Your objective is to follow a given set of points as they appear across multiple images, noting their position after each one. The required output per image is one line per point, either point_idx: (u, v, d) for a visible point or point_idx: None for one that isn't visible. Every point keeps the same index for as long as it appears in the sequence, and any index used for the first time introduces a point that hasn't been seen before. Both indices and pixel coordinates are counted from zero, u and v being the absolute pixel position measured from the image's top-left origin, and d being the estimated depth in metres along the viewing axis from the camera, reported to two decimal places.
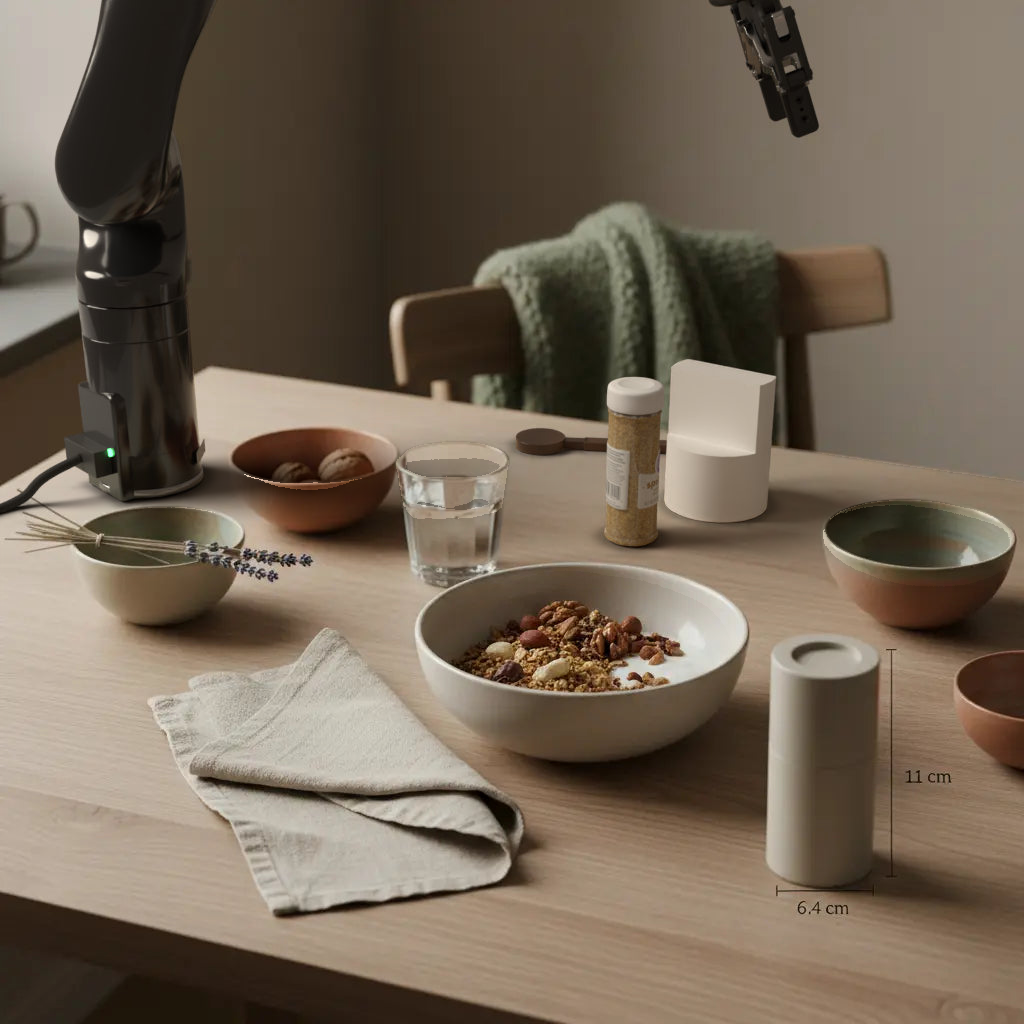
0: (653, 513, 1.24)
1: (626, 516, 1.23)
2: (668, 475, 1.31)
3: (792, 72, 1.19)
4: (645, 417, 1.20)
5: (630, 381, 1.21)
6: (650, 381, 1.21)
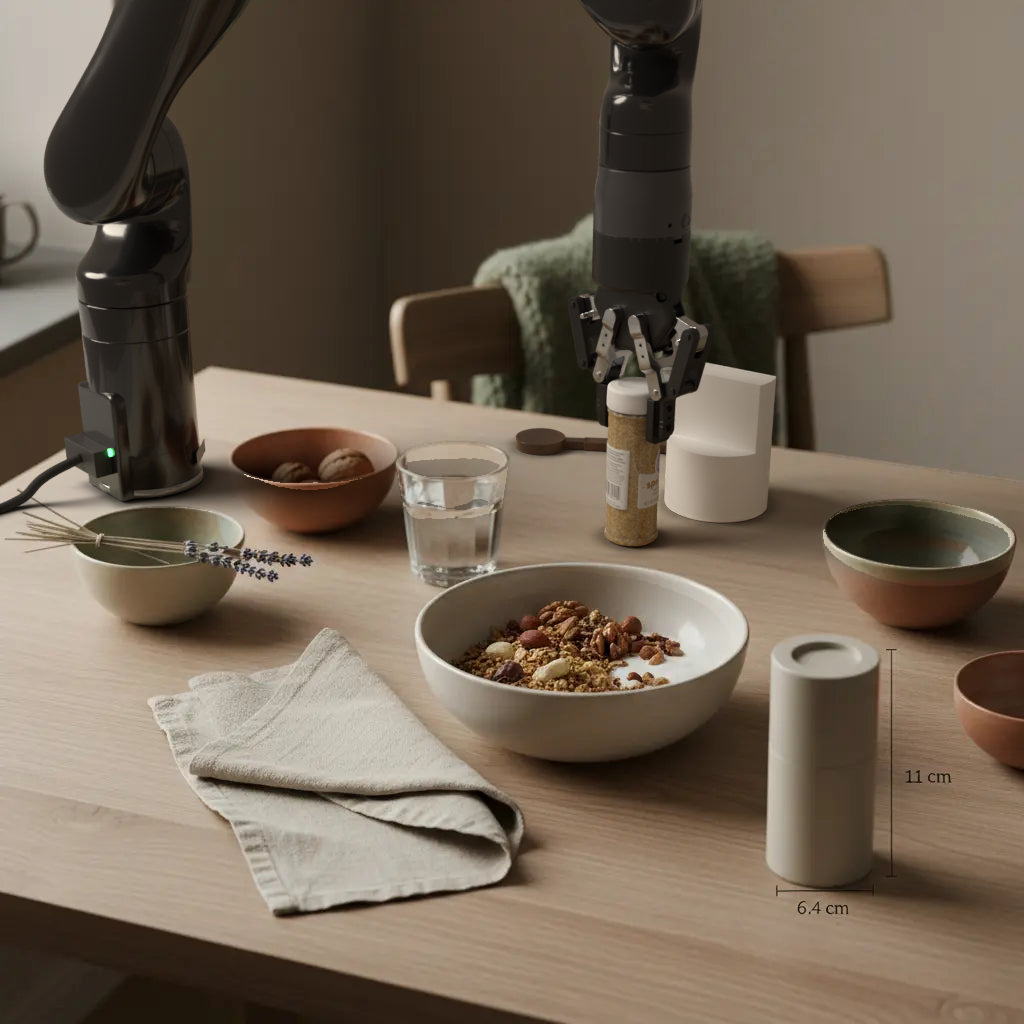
0: (653, 512, 1.24)
1: (626, 516, 1.23)
2: (668, 475, 1.31)
3: None
4: (645, 416, 1.20)
5: (630, 381, 1.21)
6: None
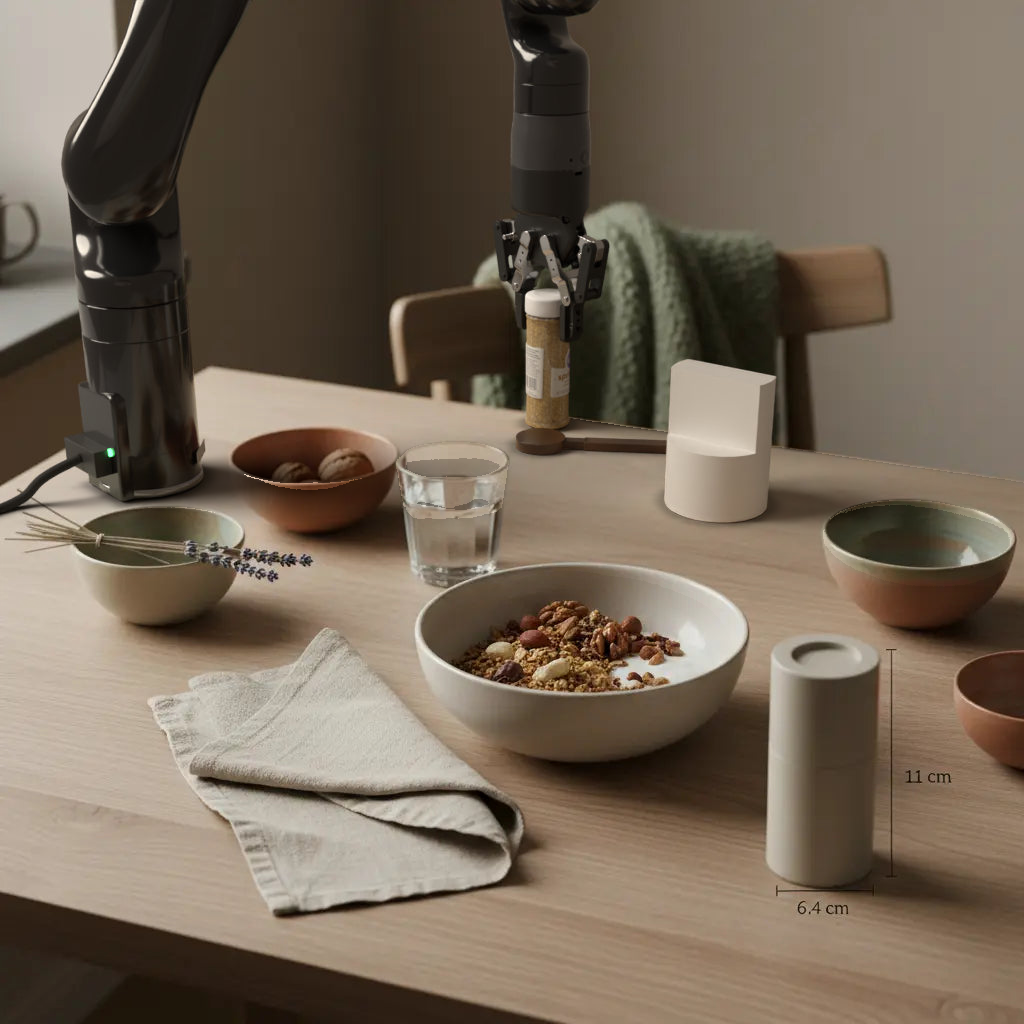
0: (565, 401, 1.49)
1: (541, 404, 1.49)
2: (668, 475, 1.31)
3: (588, 289, 1.42)
4: (556, 319, 1.45)
5: (544, 291, 1.47)
6: None
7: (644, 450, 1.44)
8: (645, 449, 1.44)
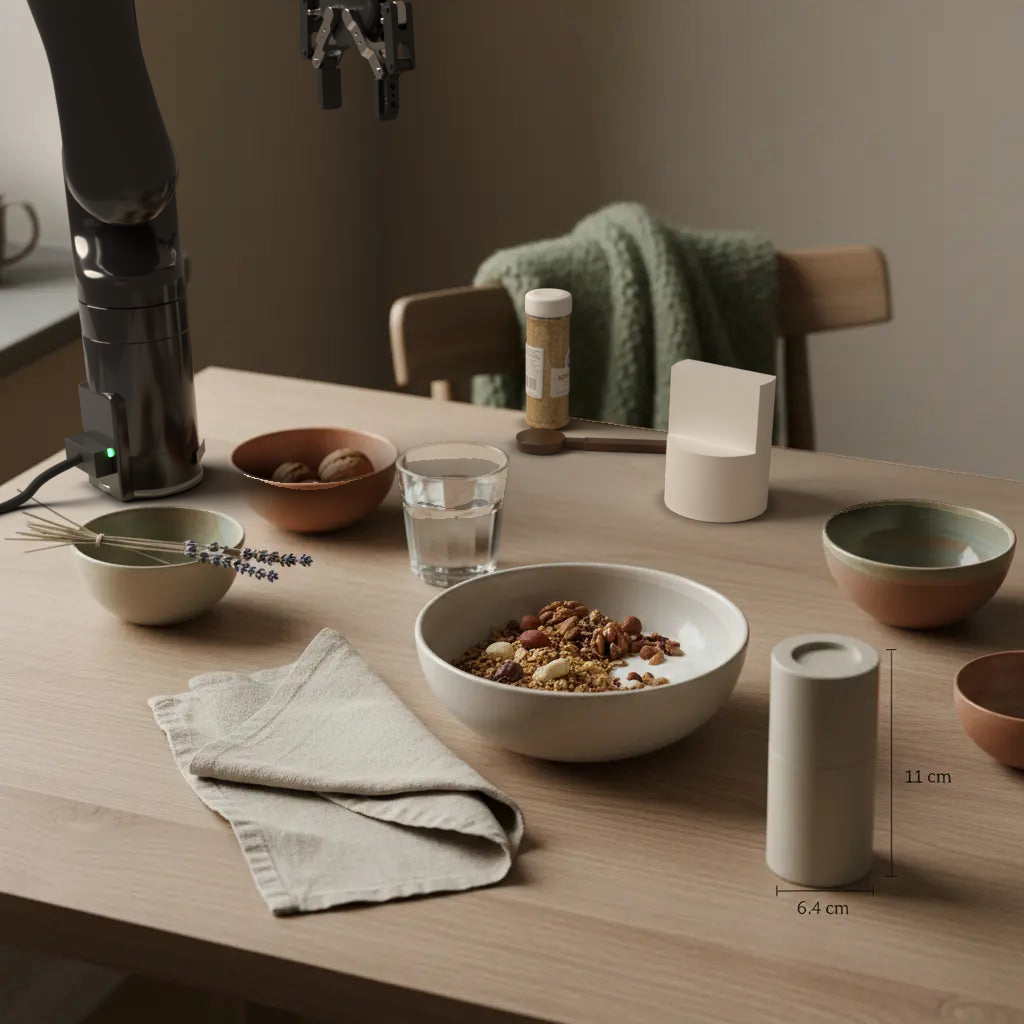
0: (565, 401, 1.49)
1: (541, 404, 1.49)
2: (668, 475, 1.31)
3: (400, 58, 1.34)
4: (556, 319, 1.45)
5: (544, 291, 1.47)
6: (560, 291, 1.47)
7: (644, 450, 1.44)
8: (645, 449, 1.44)
